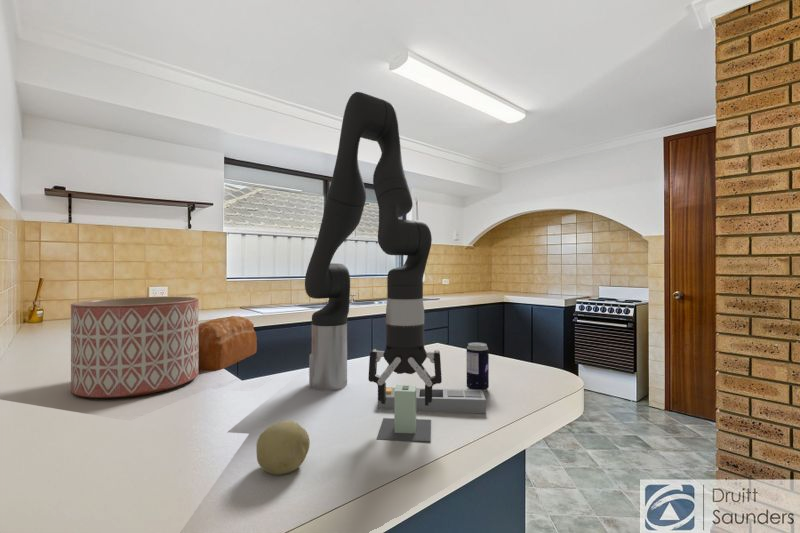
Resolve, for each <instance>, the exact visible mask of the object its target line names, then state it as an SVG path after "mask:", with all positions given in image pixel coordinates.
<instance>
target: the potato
mask: <svg viewBox="0 0 800 533" xmlns="http://www.w3.org/2000/svg"><path fill="white" fill-rule="evenodd" d="M310 442H311V441H310V436H309V433H308V432H307V430H306V429H305V428H304V427H303V426H301V425H300V424H298V423H297V422H295V421H293V420H284V421H283V420H282V421H279V422H277V423H273V424H271V425H270V426H269V427H267V428H265V429H264V430H263V431H262V432H261V433H260V435H259V436H258V438H257V441H256V448H255V449H256V461H257V464H258V465H259V467H260V468H261V469H262V470H264V471H265V472H267V473H269V474H272V475H277V476H280V475H286V474H289V473H292V472H294V471H296V470H297V469H298V468H299V467H301V465H302V464H303V462H304V461H305V459H306V458H307V455H308V452H309V450H310Z"/></svg>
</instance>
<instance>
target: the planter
mask: <svg viewBox="0 0 800 533" xmlns="http://www.w3.org/2000/svg"><path fill="white" fill-rule="evenodd" d="M198 324H199V298H198V297H193V296H192V297H191V296H141V297H139V296H138V297H136V296H135V297H119V298H118V297H117V298H103V299H94V300H93V299H92V300H91V299H90V300H83V301H76V302H73V303H71V304H70V392H71V394H73V395H75V396H77V397H81V398H88V399H89V398H90V399H92V398H93V399H106V398H107V399H108V398H110V399H111V398H128V397H130V398H131V397H136V396H137V397H138V396H143V395H144V396H145V395H150V394H154V393H160V392H163V391H166V390H170V389H174V388H176V387H179V386H181V385H184V384H187V383H189V382H190V381H193V380H194V379H195V378H197V377H198V376H199V370H198Z"/></svg>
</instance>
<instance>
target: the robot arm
mask: <svg viewBox="0 0 800 533" xmlns="http://www.w3.org/2000/svg"><path fill="white" fill-rule="evenodd" d="M340 128H341V129H340V137H339V142H338V149H337V154H336V161H335V164H334V168H333V171H332V172H333V173H332V176H331V181H330V185H329V189H328V193H327V195H326V196H327V197H326V200H325V204H324V209H323V214H322V218H321V223H320V227H319V231H318V235H317V239H316V243H315V245H314V248H313V252H312V254H311V257H310V260H309V263H308V266H307V270H306V271H305V272H306V273H305V277H304V290H305V293H306V295H307V296H308V297H309V298H312V299H316V300H317V299H321V300H322V299H328V301H327V303H326V305H325V306H323V307H322V308H321V309H319V310H317V311H315V312H313V313H312V315H311V353H309V357H308V358H309V359H308V361H309V362H308V364H309V366H308V367H309V368H308V376H309V380H308V382H309V384H308V386H309V388H310V389H315V390H317V391H321V392H322V391H325V392H326V391H330V392H333V391H338V390H342V389H344V388H346V387H347V386H348V317H349V312H350V296H351V277H350V276H351V275H350V272H349V269H348V267H347V266H346V265H345V264H343V263H332V260H333V258H334V255H335V253H336V251H337V250H338V249H339V247H340V246H341V245H342V244H343V243H344V242H345V241H346V240H347V239H349V237H350V236H351V234H353V232H354V231H355V230H356V229H357V227H358V226H359V224H360V222H361V219H362V215H363V212H364V208H365V205H366V200H367V192H366V187H365V183H364V179H363V177H362V174H361V170H360V166H359V160H358V159H359V157H358V154H359V146H360V141H361V139H365V140H368V141H372V142H377V144H378V146H379V148H380V152H381V155H380V157H379V160H378V162H377V164H376V166H375V169H374V170H373V171H374V172H373V175H372V176H373V177H372V181H373V182H372V184H373V185H372V186H373V190H374V194H375V197H376V201H377V206H378V226H377V228H378V229H377V242H378V246H379V248H380V249H381V250H382V252H384V254H386V255H389V256H407V257H406V259H405V263H404V264H403V265H402V266H399V267H396V268H395V267H394V268H391V269H390V270H389V271H388V272H387V275H386V276H387V278H386V283H387V285H386V286H387V287H386V289H387V290H386V291H387V292H386V294H387V296H386V297H387V299H386V308H385V350H378V349H376V348H373V349H372V350H371V351H370V353H369V360H368V362H369V363H368V378H367V380H368V381H369V382H371V383H375V384H376V386H377V401H378V400H379V401H381V404H385V402H386V387H387V379H389V377H390V376H391V375H392V374H393V372H394V373H395V374H400V375H402V374H408V375H414V374H415V373H417V375H418V376H419V378H420V379H421V380H422V381H423V383H424V388H425V406H429V403H431V402H432V389H433V386H435V385H437V384H438V385H439V384H441V383H442V380H443V379H442V366H441V365H442V364H441V362H442V361H441V352H440V350H439V349H436V350H434V351H426V349H425V318H426V317H425V306H424V293H423V292H424V290H423V288H424V287H423V286H424V282H423V280H424V274H425V272H426V271H425V270H426V267H427V262H428V259H429V255H430V251H431V247H432V241H433V238H432V233H431V229H430V227H429V226H428V224H426V222H424V221H422V220H415V219H414V220H413V219H399V218H401V217H404V216H406V215H407V214H409V213H410V212H411V210H412V209H413V207H414V206H413V198H412V195H411V191H410V188H409V184H408V181H407V178H406V174H405V170H404V166H403V160H402V159H403V157H402V148H401V147H402V146H401V139H400V138H401V137H400V130H399V129H400V128H399V121H398V115H397V112H396V108H395V106H394V105H393V104H392V103H390V102H389V101H388V100H385V99H383V98H379V97H376V96H373V95H371V94H367V93H365V92H362V91H361V92H360V91H355V92H354V93H352V94H351V96H349V99H348V100H347V102H346V105H345V108H344V112H343V117H342V123H341V127H340ZM382 357H383V359H384V360H385V361H386V363H387V364H388V366H387V367H386V368H385V369H384V370H383V372H382V373H381V374H380V375H379V374H378V373H377V372H378V371H377V370H378V369H377V368H378V363H379V362H380V361H381V359H382ZM427 358H428V359H429V362H430V363H431V364H434V375H432V376H431V375H430V374H429V372H428V371H427V369H426V368H425V367H424V365H423V364H424V363H425V361H426V360H427Z"/></svg>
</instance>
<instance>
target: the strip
mask: <svg viewBox="0 0 800 533" xmlns="http://www.w3.org/2000/svg"><path fill="white" fill-rule="evenodd" d="M395 388H396V387H390V386H389V387H387V386H386V402H385V404H381V401H379V400H378V399H377V409H384V410H385V409H386V410H387V409H388V410H390V409H391V410H394V391H395ZM416 411H422V412H423V411H426V412H442V413H443V412H444V413H460V414H461V413H462V414H464V413H465V414H487V398H486V397H485V394H484V392H483V391H482V390H471V389H469V388H467V389H464V388H463V389H462V388H461V389H460V388H432V402H431V403H429V406H425V387H424V388H422V387H416Z"/></svg>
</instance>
